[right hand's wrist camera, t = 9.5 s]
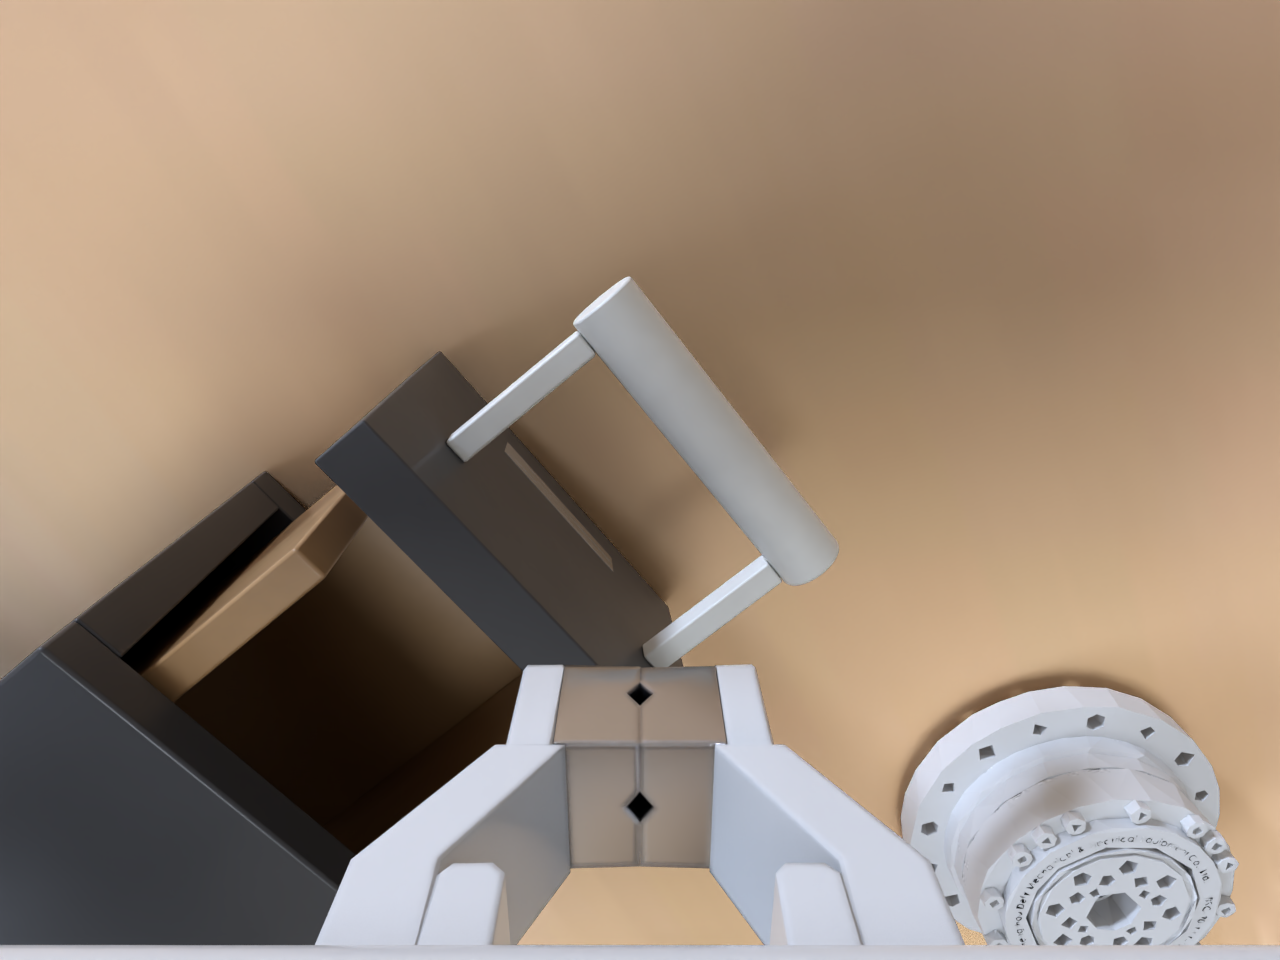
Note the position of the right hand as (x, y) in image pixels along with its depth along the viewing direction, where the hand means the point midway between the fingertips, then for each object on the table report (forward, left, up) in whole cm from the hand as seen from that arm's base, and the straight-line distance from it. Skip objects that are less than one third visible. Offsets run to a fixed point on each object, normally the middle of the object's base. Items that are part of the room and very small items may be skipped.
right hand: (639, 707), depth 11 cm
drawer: (+7, +3, -12) cm, 14 cm away
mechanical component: (-9, +17, -13) cm, 24 cm away
